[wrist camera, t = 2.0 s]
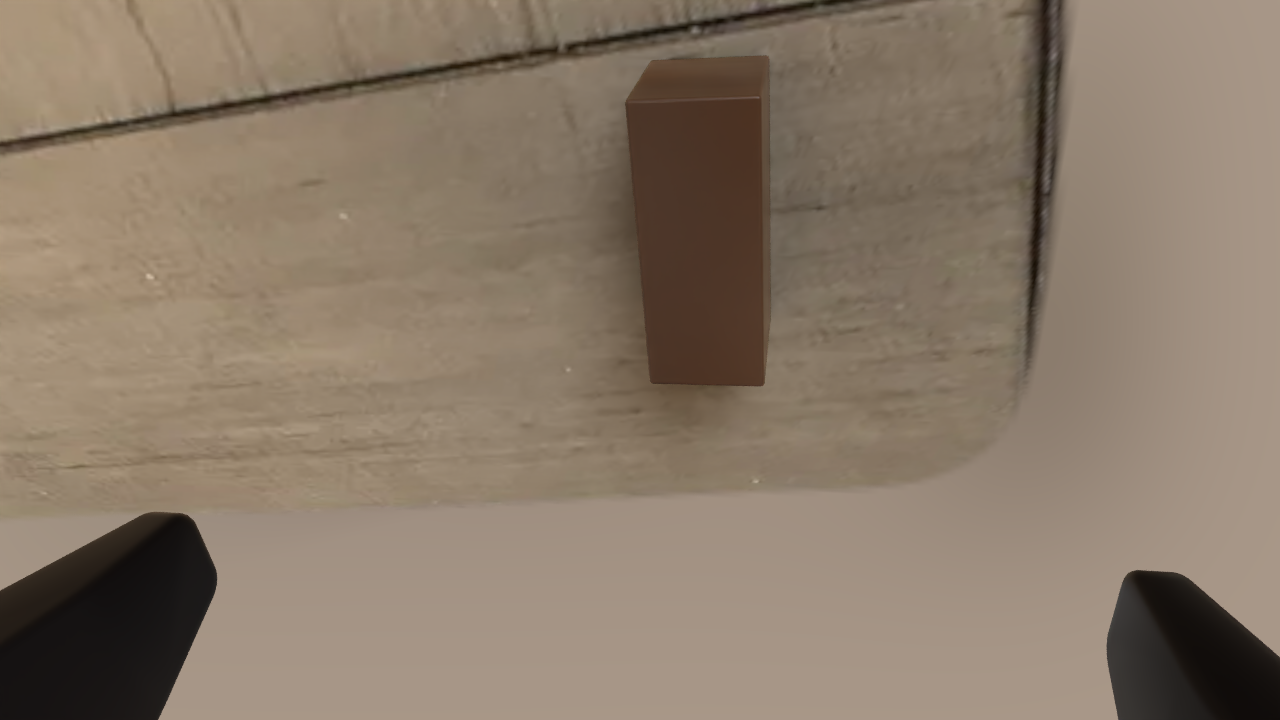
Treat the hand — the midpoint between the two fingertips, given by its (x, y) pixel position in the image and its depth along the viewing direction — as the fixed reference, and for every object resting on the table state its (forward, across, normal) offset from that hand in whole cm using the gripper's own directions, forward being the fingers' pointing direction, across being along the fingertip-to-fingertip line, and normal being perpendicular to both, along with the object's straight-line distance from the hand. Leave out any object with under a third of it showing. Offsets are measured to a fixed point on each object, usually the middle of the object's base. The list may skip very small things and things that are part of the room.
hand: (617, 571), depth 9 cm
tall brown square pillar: (+9, 0, 0) cm, 9 cm away
